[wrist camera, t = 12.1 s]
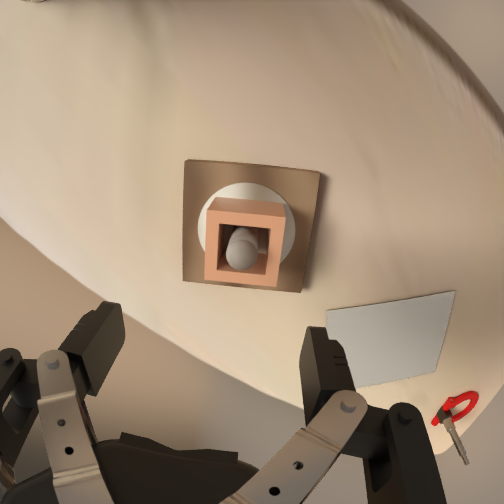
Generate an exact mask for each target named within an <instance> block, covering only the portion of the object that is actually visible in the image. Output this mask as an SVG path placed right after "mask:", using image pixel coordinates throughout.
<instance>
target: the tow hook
mask: <svg viewBox="0 0 504 504" xmlns="http://www.w3.org/2000/svg"><path fill="white" fill-rule="evenodd" d="M478 398H479V396H478V394H477V393H476V392H475V391H470V392H467V393H464V394H462V395H460V396H458V397H457V398H452V397H449V398H448V400H447V401H446V402H445V404H444V405H443V406H442V407H441V409H440V410H439V411H438V413H437V415H436V416H435V418H434V419H433V420H432V422H431V424H432V425H433V426H436V425H437V424H438V423H441V424H444V426H445V428H446V430H447V432H448V433H450V436H451V438H452V440H453V442H454V444H455V446H456V449H457V451H458V453H459V455H460V456H461V457H462V459H463V461H464V464H465V465H468V464H469V461H468V459H467V456H466V451H465V449H464V447H463V445H462V442H461V440H460V438H459V436H458V434H457V432H456V430H455V428H456V427H455V425H454V423H453V422H455V421H457V420H459V419H461V418H462V417H464V416H465V415H467V414H468V413H469V412H470V411H471V410H472V409H473V408H474V406H475V405H476V404H477V401H478ZM468 399H470V400H471V401H470V403H469V405H468V406H467V407H466V408H465V409H464V410H463V411H462V412H460V413H458V414H457V415H454V416H452V413H451V411H450V408H454V407H455V406H456V405H458V404H459V403H461V402H463V401H465V400H468Z"/></svg>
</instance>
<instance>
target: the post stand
mask: <svg viewBox="0 0 504 504" xmlns="http://www.w3.org/2000/svg"><path fill="white" fill-rule="evenodd" d="M319 178H320V173H319V172H318V171H312V170H304V169H296V168H288V167H279V166H270V165H260V164H249V163H237V162H224V161H209V160H192V159H188V160H186V161H185V164H184V190H183V281H188V282H197V283H205V284H214V285H224V286H233V287H243V288H253V289H263V290H274V291H285V292H297V293H301V290H302V284H303V279H304V273H305V268H306V262H307V256H308V250H309V244H310V238H311V232H312V226H313V219H314V213H315V206H316V199H317V193H318V186H319ZM215 197H225V198H237V199H248V200H258V201H268V202H277V203H283V206H284V211H285V216H286V219H285V227H284V235H283V242H282V250H281V257H280V264H279V272H278V279H277V286H276V287H271V286H261V285H250V284H240V283H231V282H221V281H212V280H204V270H205V237H206V213H207V209H208V207H209V206H210V204H211V203H212V201H213V200H214V198H215ZM268 231H269V228H261V227H251V226H241V225H230V224H225V232H224V248H223V249H225V250H226V259H227V261H228V263H229V264H230V266H231V267H233V268H234V269H237V270H247V269H249V268H251V267H252V266H253V265H254V264H255V262H256V260H257V257H258V253H265V254H266V248H267V239H268Z"/></svg>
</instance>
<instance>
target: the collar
mask: <svg viewBox="0 0 504 504" xmlns="http://www.w3.org/2000/svg"><path fill="white" fill-rule="evenodd" d="M285 219H286V216H285V211H284V206H283V203H277V202H268V201H258V200H248V199H237V198H225V197H215V198H214V200H213V201H212V203H211V204H210V206H209V207H208V209H207V213H206V237H205V270H204V280H212V281H221V282H231V283H240V284H250V285H261V286H271V287H276V286H277V279H278V272H279V264H280V257H281V250H282V242H283V235H284V227H285ZM225 224H230V225H241V226H251V227H261V228H269V231H268V239H267V248H266V254H265V253H258V257H257V260H256V262H255V264H254V265H253V266H252V267H251V268H249V269H247V270H237V269H234V268H233V267H231V266H230V264H229V263H228V261H227V259H226V250H225V249H223V248H224V232H225Z"/></svg>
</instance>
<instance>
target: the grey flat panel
mask: <svg viewBox="0 0 504 504" xmlns="http://www.w3.org/2000/svg"><path fill="white" fill-rule="evenodd" d="M454 295H455V291H450V292H445V293H440V294H434V295H429V296H423V297H417V298H411V299H405V300H399V301H393V302H387V303H380V304H373V305H366V306H359V307H352V308H344V309H337V310H329V311H326V315H327V333H328V337H329V339H331V340H337V341H338V342H339V343H340V344H341V345H342V347H343V348H344V351H345V354H346V359H347V361H348V366H349V368H350V372H351V375H352V379H353V382H354V386H355V388H360V387H366V386H372V385H377V384H382V383H387V382H392V381H397V380H402V379H406V378H411V377H415V376H419V375H423V374H427V373H431V372H434V371H435V368H436V365H437V362H438V358H439V355H440V352H441V348H442V345H443V341H444V337H445V334H446V330H447V326H448V322H449V318H450V313H451V309H452V304H453V300H454Z"/></svg>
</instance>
